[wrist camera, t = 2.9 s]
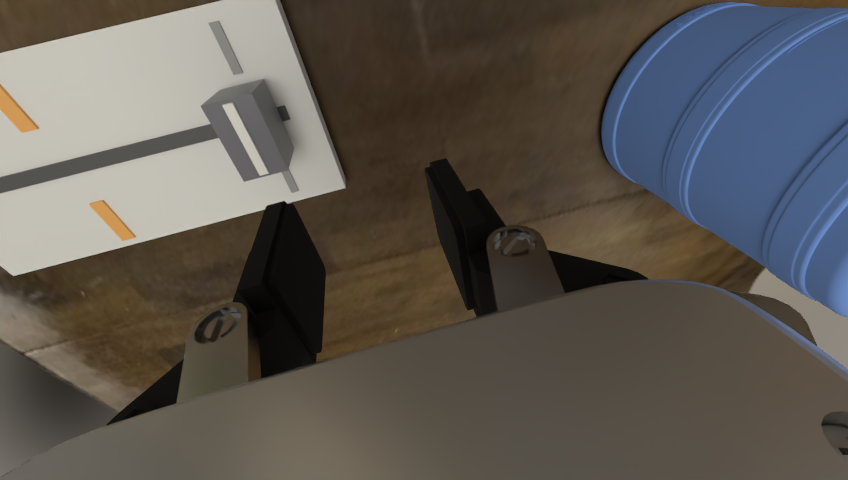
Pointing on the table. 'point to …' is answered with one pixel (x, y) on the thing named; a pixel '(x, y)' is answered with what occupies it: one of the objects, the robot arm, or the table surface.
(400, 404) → the robot arm
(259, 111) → the fader knob
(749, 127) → the water jug
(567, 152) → the table surface
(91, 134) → the fader board
